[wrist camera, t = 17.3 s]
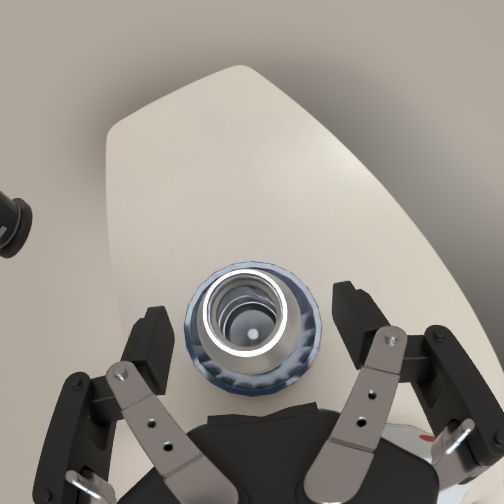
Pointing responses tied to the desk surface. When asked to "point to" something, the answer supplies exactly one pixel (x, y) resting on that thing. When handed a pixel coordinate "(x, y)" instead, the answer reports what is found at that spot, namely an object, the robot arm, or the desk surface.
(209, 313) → the silver bottle
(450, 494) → the white product box
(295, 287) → the bowl
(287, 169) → the desk surface
